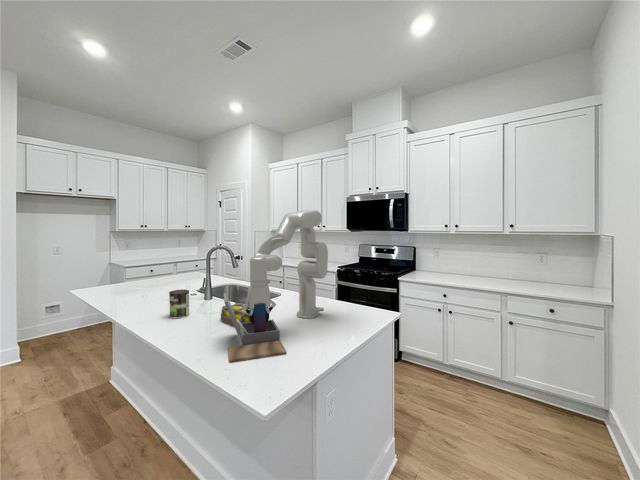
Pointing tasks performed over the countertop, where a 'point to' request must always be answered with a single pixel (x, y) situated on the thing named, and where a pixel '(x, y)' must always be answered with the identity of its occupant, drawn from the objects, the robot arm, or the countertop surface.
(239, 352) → the walnut board
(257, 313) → the cup
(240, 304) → the cage light
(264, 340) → the equipment case
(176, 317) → the coffee can
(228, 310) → the case lid
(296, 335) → the countertop surface
